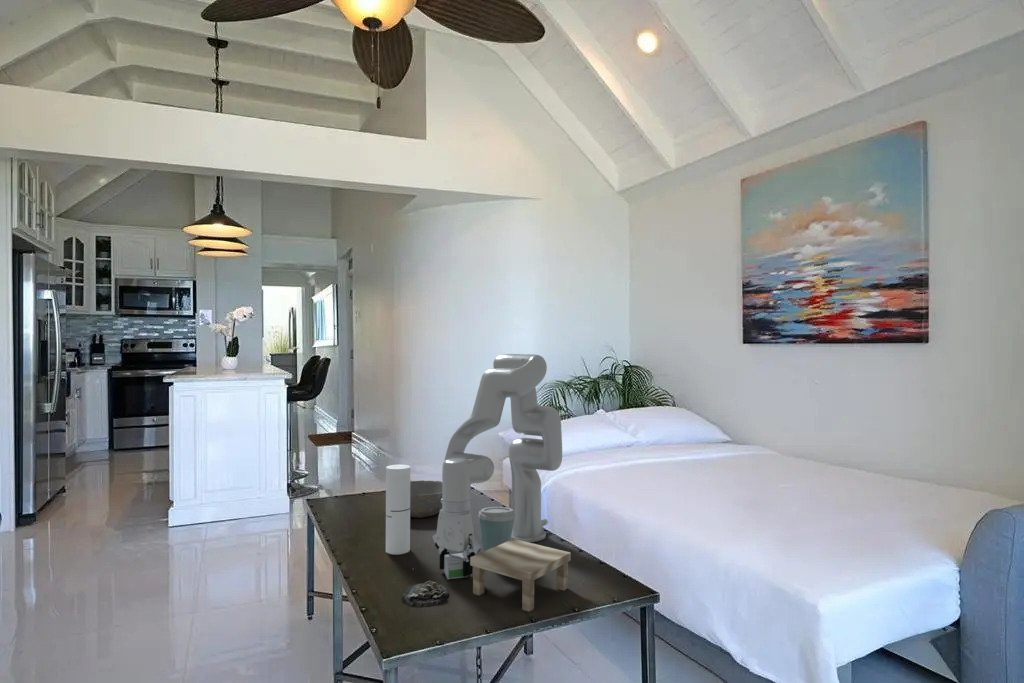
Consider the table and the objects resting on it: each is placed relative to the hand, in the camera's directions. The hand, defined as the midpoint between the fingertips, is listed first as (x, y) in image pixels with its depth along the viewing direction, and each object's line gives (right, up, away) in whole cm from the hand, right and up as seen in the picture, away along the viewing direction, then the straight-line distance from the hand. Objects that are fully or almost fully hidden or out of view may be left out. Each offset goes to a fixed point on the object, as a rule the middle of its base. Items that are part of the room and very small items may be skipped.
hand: (455, 571), depth 161 cm
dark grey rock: (-6, -2, -14) cm, 15 cm away
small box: (0, -1, 0) cm, 1 cm away
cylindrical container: (-19, -1, +19) cm, 27 cm away
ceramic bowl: (-18, -2, +58) cm, 61 cm away
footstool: (+17, -1, -10) cm, 20 cm away
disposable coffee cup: (+11, -1, +11) cm, 15 cm away
